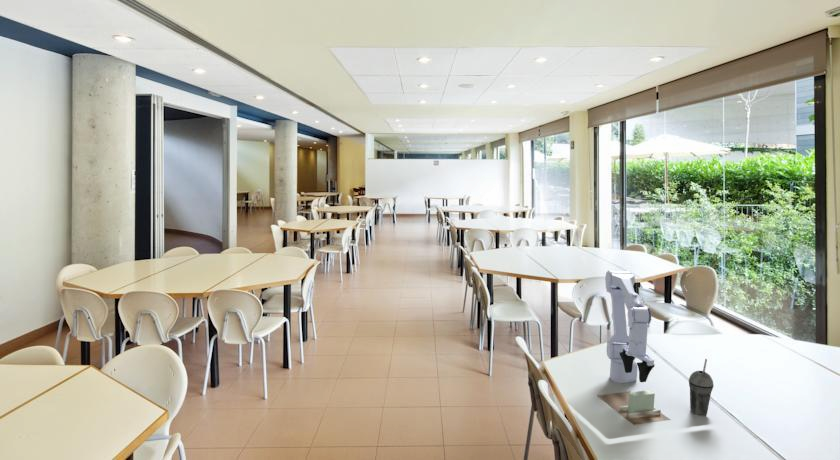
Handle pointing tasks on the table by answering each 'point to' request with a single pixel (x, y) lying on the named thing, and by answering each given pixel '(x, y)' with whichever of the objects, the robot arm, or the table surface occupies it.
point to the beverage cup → (700, 391)
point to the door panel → (641, 401)
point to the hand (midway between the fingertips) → (635, 376)
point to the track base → (621, 406)
